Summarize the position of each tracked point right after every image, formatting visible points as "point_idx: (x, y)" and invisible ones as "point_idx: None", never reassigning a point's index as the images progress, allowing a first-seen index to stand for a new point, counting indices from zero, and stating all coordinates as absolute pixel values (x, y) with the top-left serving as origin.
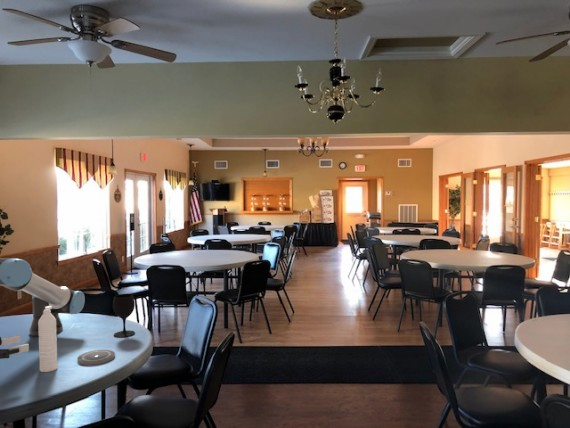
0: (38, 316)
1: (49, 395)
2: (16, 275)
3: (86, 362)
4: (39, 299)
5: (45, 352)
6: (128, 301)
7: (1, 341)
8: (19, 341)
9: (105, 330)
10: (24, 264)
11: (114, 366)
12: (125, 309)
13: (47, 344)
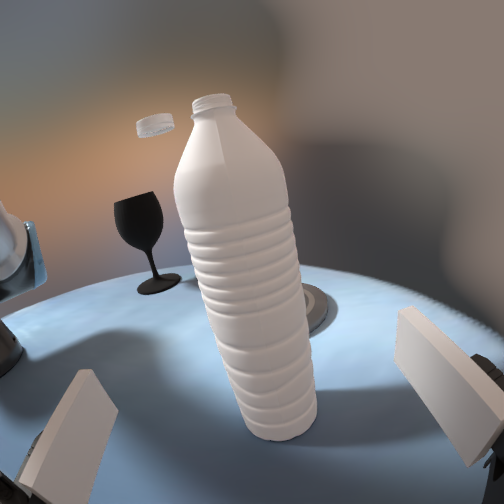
0: None
1: None
2: None
3: (315, 318)
4: None
5: (305, 351)
6: (157, 200)
7: (40, 499)
8: (112, 413)
9: (102, 302)
10: None
11: (357, 284)
12: (160, 218)
13: (304, 304)
